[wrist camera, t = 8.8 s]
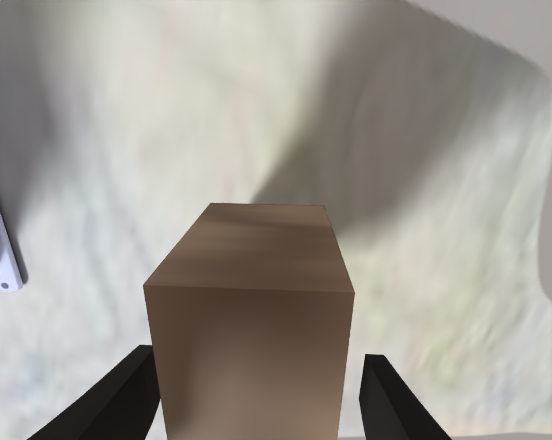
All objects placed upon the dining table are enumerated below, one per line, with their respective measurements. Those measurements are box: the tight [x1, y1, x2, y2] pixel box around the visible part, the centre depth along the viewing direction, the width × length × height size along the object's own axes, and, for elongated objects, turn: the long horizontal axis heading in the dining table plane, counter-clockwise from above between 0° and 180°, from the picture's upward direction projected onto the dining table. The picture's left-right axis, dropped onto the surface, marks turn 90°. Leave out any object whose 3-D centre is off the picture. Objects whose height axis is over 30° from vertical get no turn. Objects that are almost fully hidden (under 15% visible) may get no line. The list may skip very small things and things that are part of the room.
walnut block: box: [143, 203, 355, 440], centre depth 11 cm, size 4×10×6 cm, turn 179°
